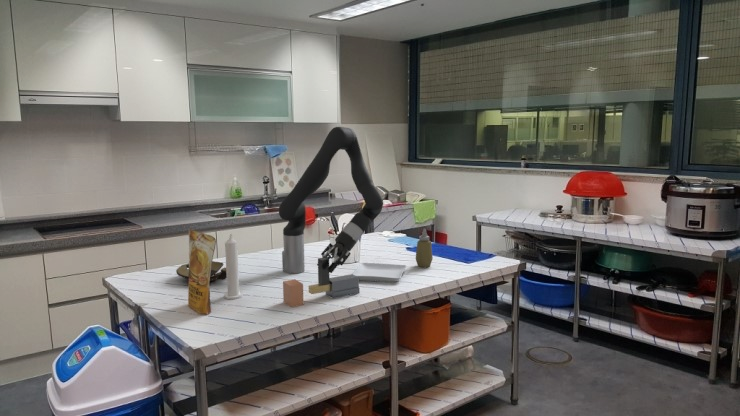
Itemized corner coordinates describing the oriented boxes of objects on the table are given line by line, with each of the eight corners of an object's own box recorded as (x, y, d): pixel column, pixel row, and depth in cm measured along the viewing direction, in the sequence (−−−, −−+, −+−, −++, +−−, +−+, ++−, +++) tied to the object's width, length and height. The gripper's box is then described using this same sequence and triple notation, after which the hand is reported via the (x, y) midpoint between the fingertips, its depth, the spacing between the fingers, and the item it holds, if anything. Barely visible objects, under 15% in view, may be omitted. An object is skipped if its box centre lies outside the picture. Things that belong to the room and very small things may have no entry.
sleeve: (351, 289, 215) (351, 273, 214) (359, 293, 210) (359, 277, 209) (325, 294, 209) (325, 278, 208) (332, 298, 204) (332, 282, 203)
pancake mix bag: (200, 299, 202) (196, 228, 198) (221, 313, 188) (217, 235, 184) (183, 303, 198) (178, 230, 194) (202, 317, 184) (198, 238, 179)
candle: (233, 300, 202) (230, 236, 198) (220, 297, 205) (217, 234, 202) (246, 295, 208) (244, 233, 204) (233, 292, 211) (231, 231, 207)
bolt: (353, 283, 213) (353, 253, 211) (357, 285, 211) (357, 254, 209) (308, 292, 203) (307, 259, 201) (312, 294, 200) (311, 261, 198)
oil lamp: (218, 269, 247) (218, 253, 246) (244, 284, 223) (244, 266, 222) (169, 277, 234) (168, 260, 233) (191, 294, 210) (190, 275, 209)
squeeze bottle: (413, 267, 248) (413, 229, 246) (418, 263, 256) (418, 226, 253) (429, 269, 245) (430, 230, 243) (434, 264, 253) (435, 227, 250)
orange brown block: (295, 299, 202) (295, 279, 201) (303, 304, 197) (303, 283, 195) (283, 301, 200) (282, 281, 199) (291, 307, 194) (290, 286, 193)
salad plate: (400, 285, 222) (400, 277, 221) (350, 282, 226) (350, 274, 225) (406, 271, 242) (406, 264, 242) (361, 269, 246) (361, 262, 246)
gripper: (334, 227, 212) (309, 259, 207) (352, 233, 200) (326, 267, 196) (346, 239, 215) (321, 270, 211) (364, 245, 203) (339, 279, 199)
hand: (323, 269), depth 203 cm, fingers open, 8 cm apart
